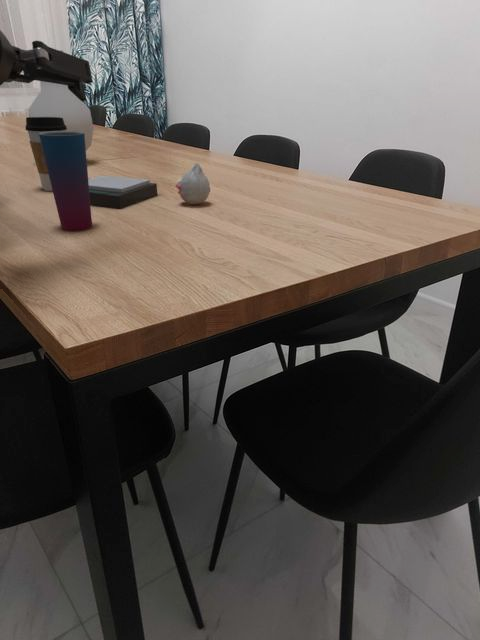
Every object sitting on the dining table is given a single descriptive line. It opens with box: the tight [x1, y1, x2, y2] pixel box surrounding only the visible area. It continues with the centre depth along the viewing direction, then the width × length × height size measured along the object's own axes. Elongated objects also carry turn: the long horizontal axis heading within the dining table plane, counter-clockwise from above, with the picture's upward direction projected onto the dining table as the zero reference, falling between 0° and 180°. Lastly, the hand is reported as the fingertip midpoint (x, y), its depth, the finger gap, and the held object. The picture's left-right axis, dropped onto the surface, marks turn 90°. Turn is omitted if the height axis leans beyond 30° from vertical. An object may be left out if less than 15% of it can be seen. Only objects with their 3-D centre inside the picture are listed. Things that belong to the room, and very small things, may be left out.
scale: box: [88, 174, 158, 210], centre depth 106 cm, size 14×14×3 cm
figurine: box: [174, 162, 211, 205], centre depth 101 cm, size 6×7×8 cm
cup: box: [39, 131, 93, 232], centre depth 83 cm, size 7×7×15 cm
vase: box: [27, 49, 94, 151], centre depth 137 cm, size 17×16×28 cm
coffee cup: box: [24, 116, 67, 192], centre depth 110 cm, size 8×8×15 cm
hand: (36, 97), depth 74 cm, fingers open, 13 cm apart
